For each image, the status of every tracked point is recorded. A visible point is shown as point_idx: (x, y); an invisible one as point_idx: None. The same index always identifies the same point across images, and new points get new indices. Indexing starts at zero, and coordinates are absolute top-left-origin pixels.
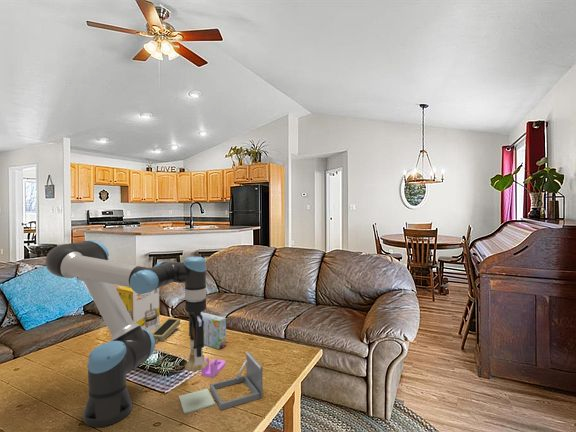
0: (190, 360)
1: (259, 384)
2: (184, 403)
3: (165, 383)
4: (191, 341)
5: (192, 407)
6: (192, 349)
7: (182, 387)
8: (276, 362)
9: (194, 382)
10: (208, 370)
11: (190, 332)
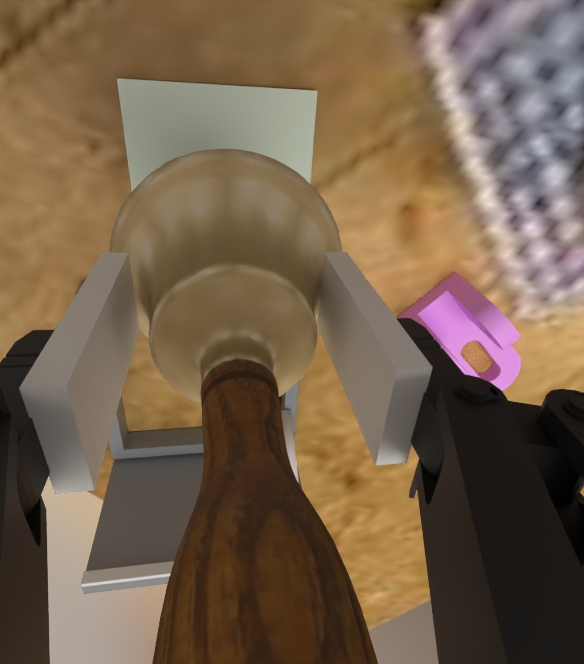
0: (196, 230)
1: (120, 490)
2: (215, 106)
3: (526, 46)
4: (393, 374)
5: (149, 142)
6: (349, 314)
7: (409, 142)
8: (345, 540)
9: (415, 220)
10: (458, 314)
11: (542, 492)
